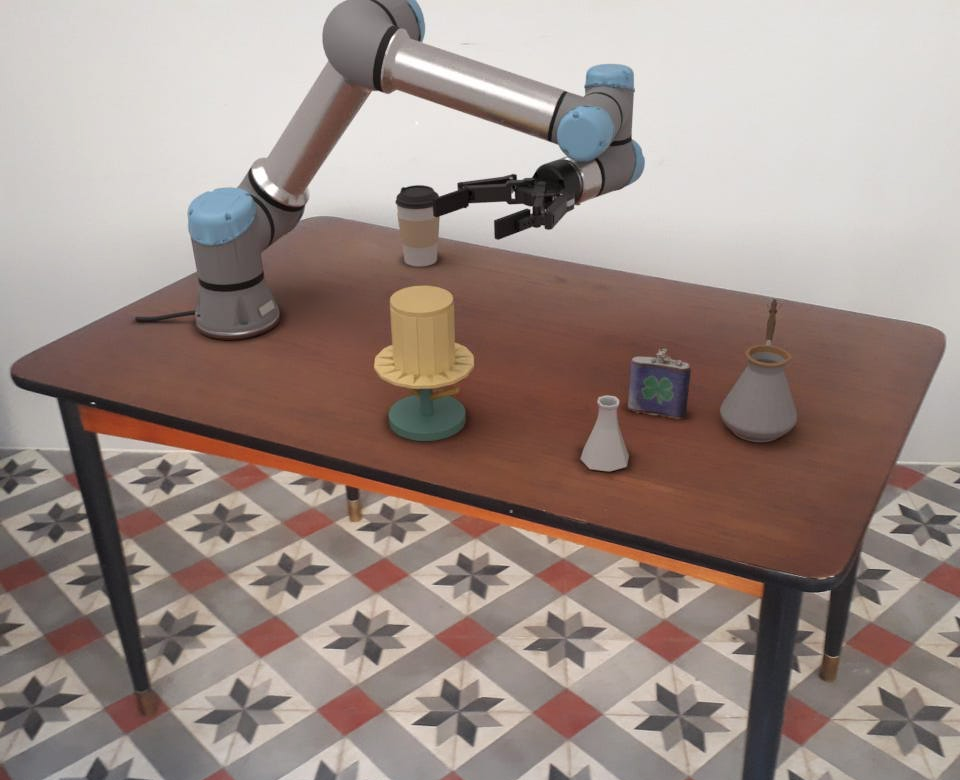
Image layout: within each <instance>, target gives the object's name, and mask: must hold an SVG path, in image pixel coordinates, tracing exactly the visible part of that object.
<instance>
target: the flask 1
mask: <svg viewBox="0 0 960 780" xmlns="http://www.w3.org/2000/svg"><path fill="white" fill-rule="evenodd" d="M596 403H597V406H598V415H597V418H596V421H595V424H594V425H593V428H592V430H591V433H590V435H589V436H588V438H587V440H586V443H585V445H584V447H583V449H582V453H581V456H580V461H582V463H583V464H584V465H585V466H586V467H587V468H588V469H589V470H594V471H603V472H612V471H617V470H620V469H621V470H622V469H625V468H627V467H628V463H629V460H630V459H629V457H630V454H629V451H628V450H627V446H626V442H625V441H624V437H623V435H622V431H621V428H620V425H619V420H618V419H619V418H618V409H619V405H620V399H619V398H618V397H617V396H615V395H607V394H606V395H602V396H598V398H597V401H596Z"/></svg>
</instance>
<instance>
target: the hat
mask: <svg viewBox="0 0 960 780" xmlns="http://www.w3.org/2000/svg"><path fill="white" fill-rule="evenodd" d="M389 312H390V313H389V315H390V329H391V345H388V346H386V347H384V348H382V350H380V352H379V353H378V354H377V355H375V357H374V363H373V370H374V372H376V374H377V375H378V377H379V378H380V379H381V380H383V381H384V382H386V383H389V384H391V385H393V386H395V387H401V388H403V387H406V388H411V389H419V390H420V389H437V388H442V387H446V386H451V385H454V384H456V383H458V382H460V381H462V380H464V379H466V378H467V377H468V376H469V375H470V374H471V373H472V371H473V370H474V369H475V356H474V354H473V353H472V352H471V351H470V350H469V349H468V347H466V346H464V345H462V344H460V343H458V342H456V331H455V330H456V329H455V328H456V327H455V303H454V296H453V294H452V293H451V292H450V291H448V290H447V289H445V288H442V287H439V286H434V285H413V286H407V287H404V288H401V289H399V290H397V291H395V292H393V294H392V295H391V296H390V298H389Z"/></svg>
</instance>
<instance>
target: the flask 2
mask: <svg viewBox="0 0 960 780" xmlns="http://www.w3.org/2000/svg"><path fill="white" fill-rule="evenodd" d="M667 352H668V349H667V348H662V349H660V348H659V349H658V352H657V353H656V357H654V356H639V355H638V356H634V357H632V359H631V362H630V377H629V379H630V380H629V387H628V398H627V399H628V400H627V408H628V411H631V412H633V413H636V414H640V413H642V414H646V415H650V416H661V417H668V418H671V419H676V420H681V419H685V418H686V415H687V407H688V400H689V392H690V391H689V388H690V382H691V372H692V370H691V369H692V368H691V366H690V364H689V363H688V362H684V361H682V360H680V359H672V358H671V357H670V356H669V354H668V355H667V354H666V353H667Z"/></svg>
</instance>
